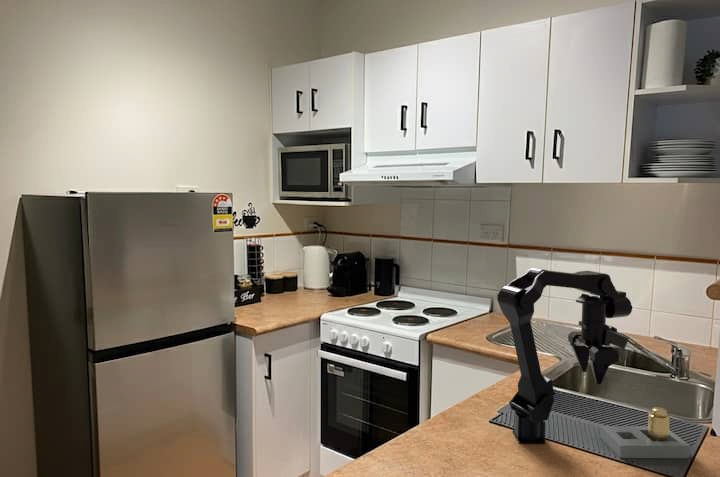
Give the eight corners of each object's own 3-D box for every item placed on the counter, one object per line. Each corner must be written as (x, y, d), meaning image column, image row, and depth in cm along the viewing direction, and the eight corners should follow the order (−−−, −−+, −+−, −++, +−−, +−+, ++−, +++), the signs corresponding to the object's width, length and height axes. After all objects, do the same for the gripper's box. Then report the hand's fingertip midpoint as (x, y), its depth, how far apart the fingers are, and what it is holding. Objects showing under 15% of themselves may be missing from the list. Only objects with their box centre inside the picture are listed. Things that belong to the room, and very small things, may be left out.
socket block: (620, 458, 118) (620, 445, 118) (600, 437, 128) (600, 426, 128) (689, 458, 118) (690, 445, 118) (664, 437, 128) (664, 426, 128)
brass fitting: (653, 452, 121) (655, 413, 120) (643, 443, 125) (645, 405, 125) (672, 452, 121) (673, 413, 120) (661, 443, 125) (663, 405, 124)
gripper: (643, 329, 124) (640, 391, 125) (608, 312, 142) (606, 366, 143) (596, 328, 124) (594, 390, 125) (568, 311, 143) (566, 366, 144)
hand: (591, 377), depth 134 cm, fingers open, 9 cm apart
